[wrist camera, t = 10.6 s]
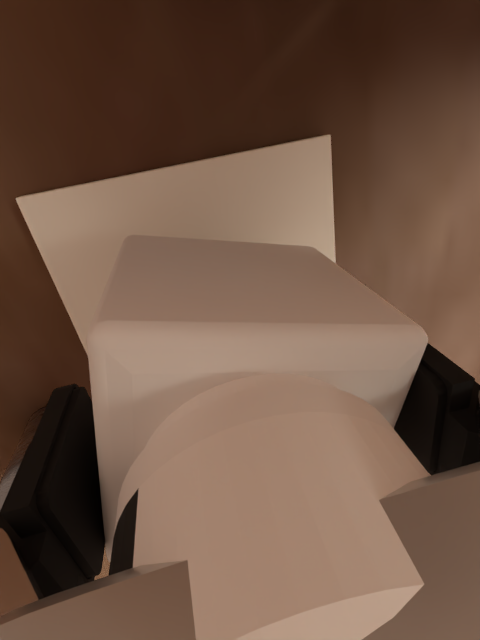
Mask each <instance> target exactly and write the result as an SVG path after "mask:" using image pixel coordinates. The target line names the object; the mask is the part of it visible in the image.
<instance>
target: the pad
mask: <svg viewBox="0 0 480 640" xmlns="http://www.w3.org/2000/svg"><path fill="white" fill-rule="evenodd" d="M15 199H16V201H17V204H18V206H19V208H20V210H21V212H22V214H23V217H24V219H25V221H26V223H27V225H28V227H29V230H30V232H31V234H32V236H33V238H34V241H35V243H36V245H37V247H38V249H39V251H40V254H41V256H42V258H43V260H44V262H45V264H46V267H47V269H48V271H49V273H50V275H51V277H52V280H53V282H54V284H55V286H56V288H57V290H58V293H59V295H60V297H61V299H62V301H63V303H64V306H65V308H66V310H67V312H68V314H69V316H70V319H71V321H72V323H73V325H74V327H75V330H76V332H77V334H78V336H79V338H80V340H81V343H82V345H83V347H84V349H85V351H86V353H87V356H88V350H87V339H86V338H87V334H88V330H89V327H90V324H91V322H92V319H93V317H94V314H95V312H96V309H97V307H98V304H99V302H100V299H101V297H102V294H103V291H104V289H105V286H106V284H107V281H108V279H109V276H110V274H111V271H112V269H113V266H114V264H115V261H116V258H117V256H118V253H119V251H120V248H121V246H122V243H123V241H124V239H125V238H126V237H127V236H130V235H145V236H160V237H175V238H191V239H206V240H222V241H237V242H253V243H268V244H283V245H299V246H311V247H314V248H315V249H317V250H318V251H319V252H321V253H322V254H323V255H325V256H326V257H328V258H329V259H330V260H332V261H333V262H334V263H336V259H335V233H334V207H333V181H332V156H331V135H321V136H317V137H312V138H307V139H302V140H297V141H292V142H287V143H282V144H277V145H272V146H267V147H262V148H257V149H252V150H247V151H242V152H237V153H232V154H227V155H222V156H217V157H212V158H207V159H202V160H197V161H192V162H187V163H182V164H178V165H173V166H168V167H163V168H158V169H153V170H148V171H143V172H138V173H133V174H128V175H123V176H118V177H113V178H108V179H103V180H98V181H93V182H88V183H83V184H78V185H73V186H68V187H63V188H58V189H53V190H48V191H43V192H38V193H34V194H29V195H24V196H20V197H17V198H15Z"/></svg>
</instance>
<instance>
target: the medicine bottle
mask: <svg viewBox="0 0 480 640" xmlns="http://www.w3.org/2000/svg"><path fill="white" fill-rule="evenodd" d="M86 339H87V350H88V361H89V372H90V383H91V394H92V405H93V416H94V427H95V438H96V449H97V460H98V471H99V482H100V493H101V503H102V514H103V525H104V536H105V547H106V556H107V559H108V560H109V562H110V569H109V576H110V575H113V574H116V573H119V572H122V571H125V570H128V569H131V568H134V567H137V566H140V565H149V564H157V563H166V562H177V561H184V560H188V570H189V579H190V588H191V598H192V607H193V617H194V626H195V635H196V640H362V639H363V638H365V637H366V636H367V635H369V634H370V633H372V632H373V631H375V630H376V629H378V628H379V627H380V626H382V625H383V624H385V623H386V622H388V621H389V620H391V619H392V618H393V617H394V616H395V615H396V614H397V613H398V612H399V611H400V610H401V609H402V608H403V607H404V606H405V605H406V603H407V602H408V601H409V600H410V599H411V598H412V597H413V596H414V595H415V594H416V593H417V592H418V591H419V590H420V588H421V587H422V586H423V585H424V583H423V581H422V579H421V577H420V575H419V573H418V571H417V570H416V568H415V566H414V564H413V562H412V560H411V558H410V557H409V555H408V553H407V551H406V549H405V547H404V546H403V544H402V542H401V540H400V538H399V536H398V535H397V533H396V531H395V529H394V527H393V525H392V524H391V522H390V520H389V518H388V516H387V514H386V512H385V511H384V509H383V507H382V505H381V503H380V501H379V500H380V499H382V498H383V497H385V496H387V495H388V494H390V493H392V492H394V491H396V490H397V489H399V488H401V487H402V486H404V485H406V484H407V483H409V482H411V481H414V480H418V479H421V478H424V477H427V476H430V474H429V473H428V472H427V471H426V469H425V468H424V467H423V466H422V464H421V463H420V462H419V461H418V459H417V458H416V457H415V455H414V454H413V453H412V452H411V450H410V449H409V448H408V447H407V445H406V444H405V443H404V441H403V440H402V439H401V438H400V436H399V435H398V434H397V433H396V431H395V430H394V426H395V424H396V421H397V419H398V416H399V414H400V411H401V409H402V406H403V404H404V401H405V399H406V396H407V394H408V391H409V389H410V386H411V384H412V381H413V379H414V376H415V374H416V371H417V369H418V366H419V364H420V361H421V358H422V356H423V353H424V351H425V348H426V346H427V343H428V336H427V334H426V333H425V331H424V330H423V328H422V327H421V326H420V325H418V324H417V323H416V322H414V321H413V320H412V319H410V318H409V317H408V316H406V315H405V314H404V313H402V312H401V311H399V310H398V309H397V308H395V307H394V306H393V305H391V304H390V303H389V302H387V301H386V300H385V299H383V298H382V297H380V296H379V295H378V294H376V293H375V292H374V291H372V290H371V289H370V288H368V287H367V286H366V285H364V284H363V283H361V282H360V281H359V280H357V279H356V278H355V277H353V276H352V275H351V274H349V273H348V272H347V271H345V270H344V269H342V268H341V267H340V266H338V265H337V264H336V263H334V262H333V261H332V260H330V259H329V258H328V257H326V256H325V255H323V254H322V253H321V252H319V251H318V250H317V249H315V248H314V247H311V246H299V245H283V244H268V243H253V242H237V241H222V240H206V239H191V238H175V237H160V236H145V235H130V236H127V237H126V238H125V239H124V241H123V243H122V246H121V248H120V251H119V253H118V256H117V258H116V261H115V264H114V266H113V269H112V271H111V274H110V276H109V279H108V281H107V284H106V286H105V289H104V291H103V294H102V297H101V299H100V302H99V304H98V307H97V309H96V312H95V314H94V317H93V319H92V322H91V324H90V327H89V330H88V334H87V338H86Z"/></svg>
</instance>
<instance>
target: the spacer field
mask: <svg viewBox="0 0 480 640" xmlns="http://www.w3.org/2000/svg"><path fill="white" fill-rule="evenodd" d="M45 409H46V407H44V408H41V409H40V410H38V411H36V412H35V413H34V414H33V415H32V416H31V418H30V420H29V422H28V424H27V426H26V428H25V430H24V433H23V435H22V437H21V439H20V441H19V443H18V445H17V447H16V450H15V452H14V454H13V456H12V458H11V460H10V462H9V464H8V467H7V469H6V471H5V473H4V475H3V477H2V479H1V481H0V510H1V508H2V506H3V503H4V501H5V499H6V496H7V494H8V492H9V489H10V487H11V485H12V482H13V480H14V478H15V475H16V473H17V471H18V468H19V466H20V464H21V462H22V459H23V457H24V455H25V452H26V450H27V448H28V446H29V444H30V442H32V439H33V437H34V435H35V432H36V430H37V427H38V425H39V423H40V420H41V418H42V416H43V413H44V411H45Z"/></svg>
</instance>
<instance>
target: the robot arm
mask: <svg viewBox="0 0 480 640" xmlns="http://www.w3.org/2000/svg"><path fill="white" fill-rule="evenodd" d="M474 380H475V378H473V377H472V376H471V375H469V374H468V373H467V372H465V371H464V370H463V369H461V368H460V367H459V366H457V365H456V364H455V363H453V362H452V361H451V360H449V359H448V358H447V357H445V356H444V355H443V354H442V353H440V352H439V351H438V350H436V349H435V348H434V347H432V346H431V345H430V344H428V343H427V346H426V348H425V351H424V353H423V356H422V358H421V361H420V364H419V366H418V369H417V371H416V374H415V376H414V379H413V381H412V384H411V386H410V389H409V391H408V394H407V396H406V399H405V401H404V404H403V406H402V409H401V411H400V414H399V416H398V419H397V421H396V424H395V426H394V430H395V431H396V433H397V434H398V435H399V436H400V438H401V439H402V440H403V441H404V443H405V444H406V445H407V447H408V448H409V449H410V450H411V452H412V453H413V454H414V455H415V457H416V458H417V459H418V461H419V462H420V463H421V464H422V466H423V467H424V468H425V469H426V471H427V472H428V473H430V475H431V476H427V477H424V478H421V479H418V480H414V481H411V482H409V483H407V484H406V485H404V486H402V487H401V488H399V489H397V490H396V491H394V492H392V493H390V494H388V495H387V496H385V497H383V498H382V499H380V500H379V501H380V503H381V505H382V507H383V509H384V511H385V512H386V514H387V516H388V518H389V520H390V522H391V524H392V525H393V527H394V529H395V531H396V533H397V535H398V536H399V538H400V540H401V542H402V544H403V546H404V547H405V549H406V551H407V553H408V555H409V557H410V558H411V560H412V562H413V564H414V566H415V568H416V570H417V571H418V573H419V575H420V577H421V579H422V581H423V583H424V585H423V586H422V587H421V588H420V590H419V591H418V592H417V593H416V594H415V595H414V596H413V597H412V598H411V599H410V600H409V601H408V602H407V603H406V605H405V606H404V607H403V608H402V609H401V610H400V611H399V612H398V613H397V614H396V615H395V616H394V617H393V618H392V619H391V620H389V621H388V622H386V623H385V624H383V625H382V626H380V627H379V628H378V629H376V630H375V631H373V632H372V633H370V634H369V635H367V636H366V637H365V638H363V639H362V640H480V385H479V384H478V383H476V382H475V381H474ZM104 547H105V536H104V525H103V514H102V503H101V493H100V482H99V471H98V460H97V449H96V438H95V427H94V416H93V405H92V401H91V399H90V397H89V395H88V393H87V391H86V389H85V388H84V387H78V386H77V385H76V384H72V385H68V386H64V387H60V388H56V389H54V391H53V392H52V395H51V397H50V399H49V402H48V404H47V406H46V409H45V411H44V413H43V416H42V418H41V420H40V423H39V425H38V427H37V430H36V432H35V435H34V437H33V439H32V442H30V444H29V446H28V448H27V450H26V452H25V455H24V457H23V459H22V462H21V464H20V466H19V468H18V471H17V473H16V475H15V478H14V480H13V482H12V485H11V487H10V489H9V492H8V494H7V496H6V499H5V501H4V503H3V506H2V508H1V510H0V640H196V635H195V626H194V617H193V607H192V598H191V588H190V579H189V570H188V560H184V561H177V562H166V563H157V564H149V565H140V566H137V567H134V568H131V569H128V570H125V571H122V572H119V573H116V574H113V575H110V576H107V577H104V578H101V579H98V580H95V581H94V577H95V576H96V575H99V574H100V572H101V568H102V562H103V555H104Z"/></svg>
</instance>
